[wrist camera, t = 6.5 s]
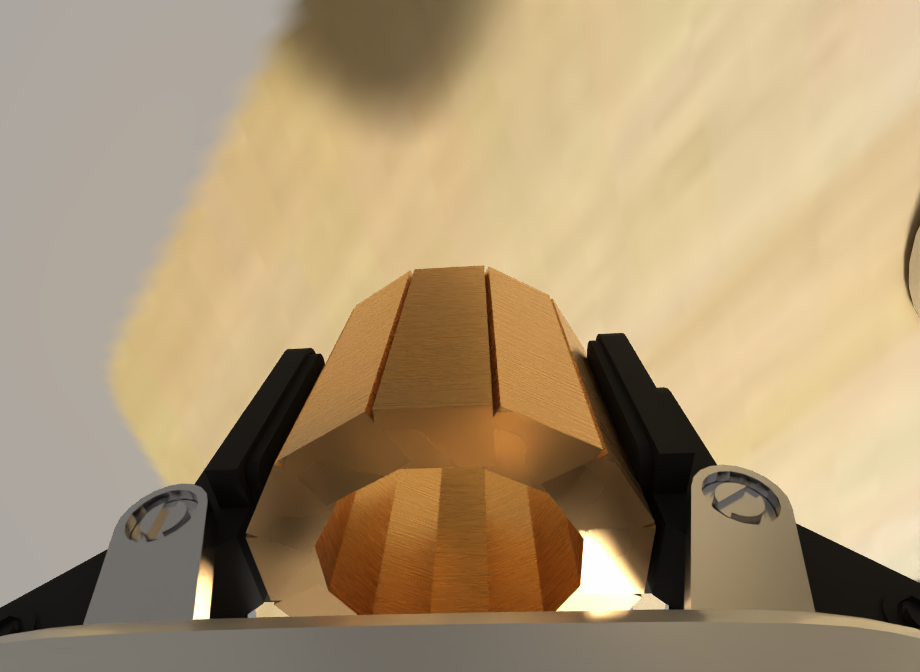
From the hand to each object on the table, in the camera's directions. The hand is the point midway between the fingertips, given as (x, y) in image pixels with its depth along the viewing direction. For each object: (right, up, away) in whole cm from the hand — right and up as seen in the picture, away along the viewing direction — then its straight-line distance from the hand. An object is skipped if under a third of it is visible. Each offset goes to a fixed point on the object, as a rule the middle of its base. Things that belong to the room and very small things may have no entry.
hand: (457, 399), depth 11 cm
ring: (0, 0, +1) cm, 1 cm away
